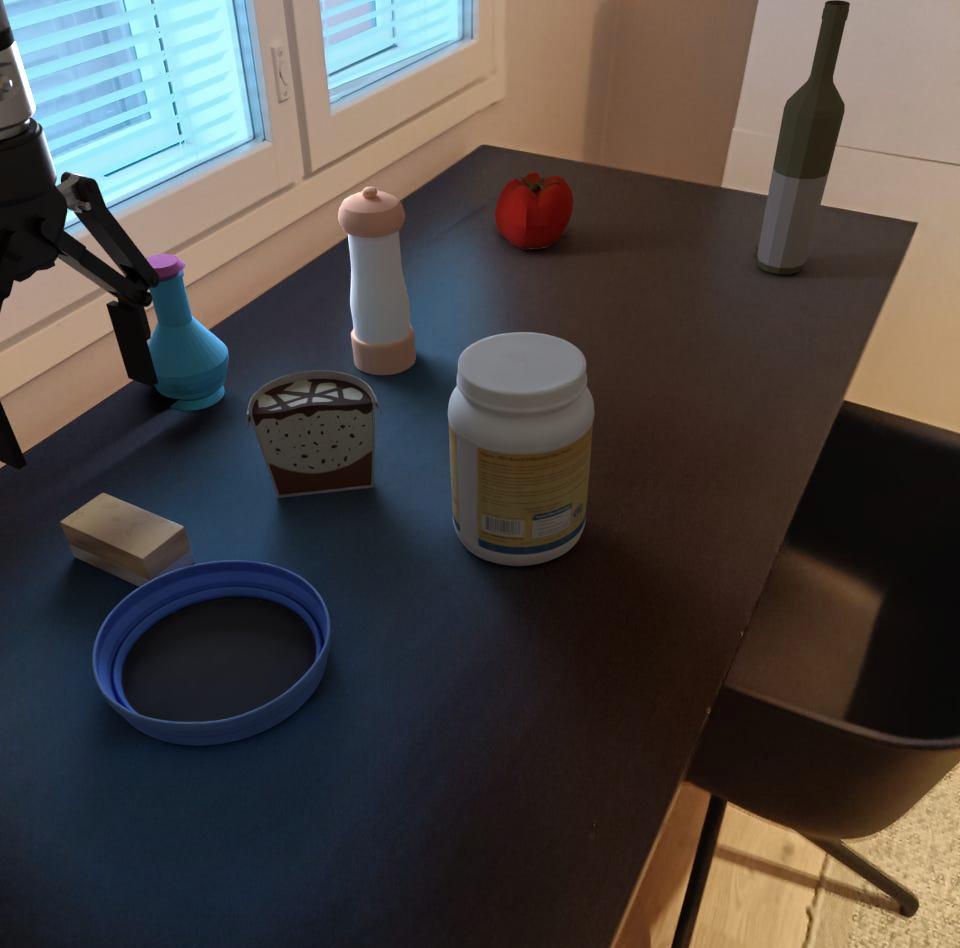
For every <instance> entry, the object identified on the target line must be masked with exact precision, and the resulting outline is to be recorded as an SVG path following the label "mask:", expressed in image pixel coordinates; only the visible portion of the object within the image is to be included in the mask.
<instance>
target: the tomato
mask: <svg viewBox="0 0 960 948" xmlns="http://www.w3.org/2000/svg"><path fill="white" fill-rule="evenodd" d="M518 178H519V179H518ZM573 211H574V196H573V191H572V189H571V187H570V186H569V184H568V182H567V181H566V180H565V178H563V177H561V176H559V175H551V176H548V177H547V178H546V177H545V176H542V177H541V176H540V174H539V173H538V172H536V171H534V172H531V173H527V174H526V175H525V176H524V177H523V176H518V177H515V178H513V179H511V180H509V181H508V182H507V183H506V184H505V186H504V187H503V188H502V190H501V191H500V194H499V197H498V198H497V202H496V207H495V211H494V221H495V222H494V223H495V225H496V228H497V231H498V232H499V234H500V235H501V236H502V237H503V238H504V239H506V240H507V241H508V242H509V243H510V244H511V245H513V246H514V247H516V246H517V247H516V248H518V247H519V249H520V248H524V249H529V248H542V247H546V246H548V247H550V246H552V245H554V244H555V243H556V242H558V241H559V240H560V239H561V237H562V236H563V234H564V231H565V230H566V228H567V226H568V224H569V222H570V220H571V218H572V214H573ZM546 248H547V247H546ZM542 249H543V248H542Z"/></svg>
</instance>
